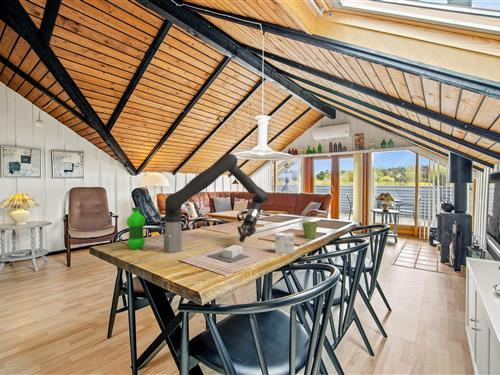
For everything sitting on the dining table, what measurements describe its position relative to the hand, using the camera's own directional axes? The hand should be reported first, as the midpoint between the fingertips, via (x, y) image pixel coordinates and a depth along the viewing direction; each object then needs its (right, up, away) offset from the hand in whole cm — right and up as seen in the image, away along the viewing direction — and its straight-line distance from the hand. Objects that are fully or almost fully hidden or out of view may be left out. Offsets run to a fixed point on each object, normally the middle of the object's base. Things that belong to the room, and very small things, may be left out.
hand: (241, 241), depth 146 cm
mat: (-7, -6, -9) cm, 13 cm away
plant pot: (+49, -6, +38) cm, 62 cm away
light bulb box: (+25, -6, 0) cm, 26 cm away
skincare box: (-1, -4, -2) cm, 5 cm away
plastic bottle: (-65, -6, +9) cm, 66 cm away
